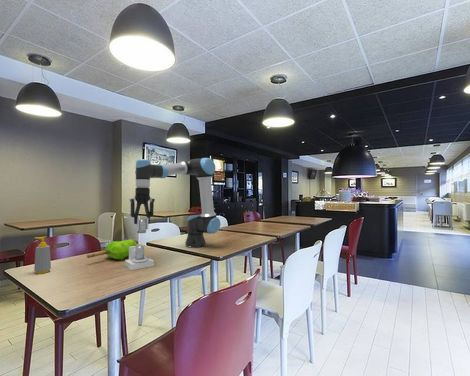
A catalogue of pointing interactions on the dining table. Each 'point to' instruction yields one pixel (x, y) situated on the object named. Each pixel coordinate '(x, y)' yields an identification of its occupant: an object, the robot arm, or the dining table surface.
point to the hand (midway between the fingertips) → (141, 229)
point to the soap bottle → (42, 257)
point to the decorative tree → (117, 249)
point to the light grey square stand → (137, 261)
